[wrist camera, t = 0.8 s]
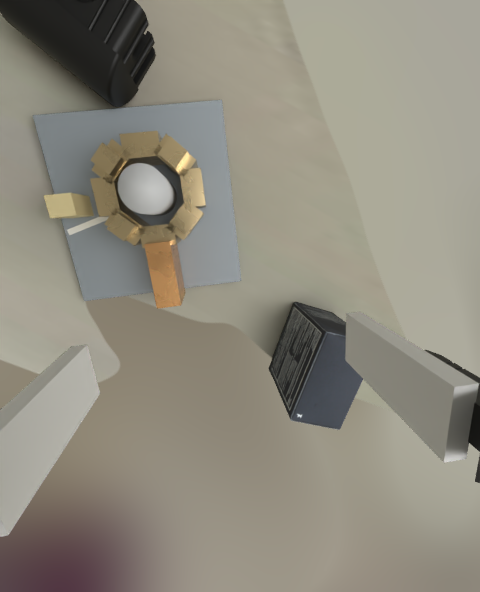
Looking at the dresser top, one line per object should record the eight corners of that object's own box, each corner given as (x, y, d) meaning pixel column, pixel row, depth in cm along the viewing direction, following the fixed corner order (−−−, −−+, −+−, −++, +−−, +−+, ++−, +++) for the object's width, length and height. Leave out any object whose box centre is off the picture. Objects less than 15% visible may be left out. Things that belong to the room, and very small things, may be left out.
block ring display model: (41, 120, 28) (-28, 79, 20) (221, 105, 29) (225, 61, 21) (89, 297, 33) (50, 322, 25) (240, 278, 34) (249, 296, 26)
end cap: (32, 46, 26) (-26, -11, 20) (69, -25, 25) (20, -109, 19) (124, 119, 29) (99, 90, 22) (162, 57, 28) (147, 7, 21)
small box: (308, 379, 40) (342, 433, 30) (267, 369, 38) (286, 422, 28) (336, 312, 37) (383, 347, 27) (293, 300, 36) (324, 331, 26)
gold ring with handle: (98, 148, 28) (72, 132, 22) (197, 139, 28) (194, 121, 23) (132, 299, 32) (117, 314, 27) (217, 288, 33) (218, 301, 28)
